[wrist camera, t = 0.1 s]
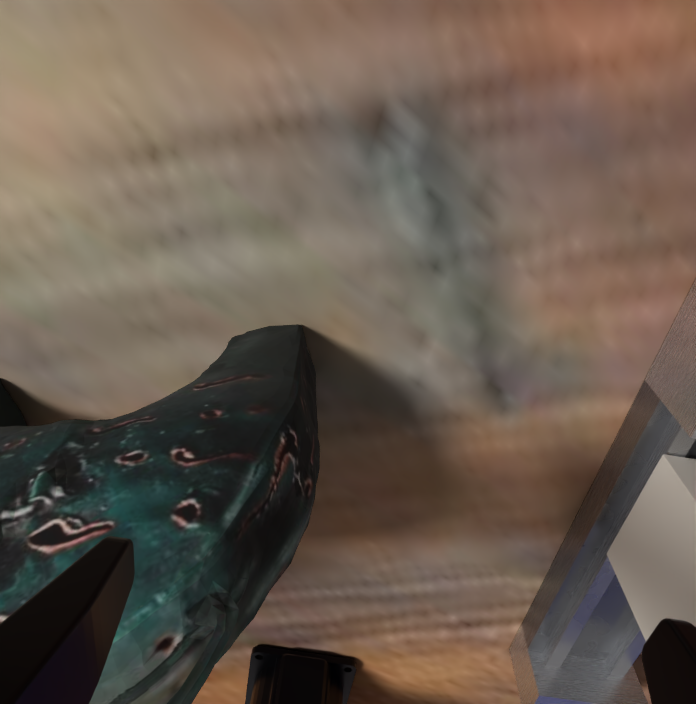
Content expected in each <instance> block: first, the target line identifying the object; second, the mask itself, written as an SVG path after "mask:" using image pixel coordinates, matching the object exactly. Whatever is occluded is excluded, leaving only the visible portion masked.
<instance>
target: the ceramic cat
mask: <svg viewBox="0 0 696 704" xmlns="http://www.w3.org/2000/svg"><path fill="white" fill-rule="evenodd" d="M319 458H320V446H319V441H318V423H317V408H316V373H315V369H314V366H313V363H312V360H311V357H310V354H309V352H308V349H307V346H306V341H305V337H304V332H303V328H302V326H301V325H283V326H268V327H264V328H260V329H256V330H253V331H249V332H246V333H245V334H243V335H238V336H235V337H233V338H232V339H231V340H230V341H229V343H228V345H227V348H226V349H225V351H224V352H223V353H222V355H221V356H220V357H219V358H218V359H217V360H216V361H215V362H214V363H212V364H211V365H210V367H209V368H208V369H207V370H206V371H204V372H203V373H202V375H201V376H200V377H199V378H197V379H196V380H195V381H194V382H192V383H190V384H188V385H186V386H185V387H183V388H181V389H179V390H178V391H176V392H174V393H172V394H170V395H169V396H167V397H165V398H163V399H161V400H159V401H157V402H155V403H153V404H150V405H148V406H146V407H144V408H142V409H139V410H137V411H135V412H132V413H129V414H126V415H123V416H120V417H117V418H114V419H108V420H98V421H89V420H76V419H75V420H62V421H58V422H54V423H51V424H46V425H41V426H27V425H26V423H25V420H24V418H23V416H22V413H21V411H20V410H19V408H18V407H17V405H16V404H15V403H14V401H13V400H12V398H11V397H10V396H9V394H8V393H7V391H6V390H5V389H4V387H3V386H2V384H1V379H0V623H1V622H3V621H4V620H5V619H6V618H7V617H9V616H10V615H11V614H12V613H14V612H15V611H16V610H17V609H18V608H20V607H21V606H22V605H23V604H24V603H26V602H27V601H28V600H29V599H31V598H32V597H33V596H34V595H35V594H37V593H38V592H39V591H40V590H41V589H43V588H44V587H45V586H46V585H48V584H49V583H50V582H51V581H52V580H54V579H55V578H56V577H57V576H59V575H60V574H61V573H62V572H63V571H65V570H66V569H67V568H68V567H69V566H71V565H72V564H73V563H74V562H76V561H77V560H78V559H79V558H80V557H82V556H83V555H84V554H85V553H86V552H88V551H89V550H90V549H91V548H93V547H94V546H95V545H96V544H97V543H99V542H100V541H101V540H102V539H104V538H106V537H108V536H114V537H121V538H128V539H131V540H132V542H133V546H134V566H135V575H134V581H133V585H132V588H131V591H130V594H129V597H128V600H127V602H126V605H125V608H124V611H123V614H122V617H121V620H120V623H119V626H118V629H117V631H116V634H115V637H114V640H113V643H112V646H111V649H110V652H109V655H108V657H107V660H106V663H105V666H104V669H103V672H102V674H101V677H100V680H99V682H98V685H97V687H96V689H95V692H94V694H93V696H92V698H91V701H90V703H89V704H191V703H192V702H193V700H194V699H195V697H196V695H197V694H198V692H199V691H200V689H201V687H202V686H203V684H204V683H205V681H206V680H207V678H208V676H209V674H210V673H211V671H212V669H213V667H214V665H215V664H216V663H217V662H218V661H219V659H220V658H221V657H222V656H223V655H224V654H225V653H226V652H227V651H228V649H229V648H230V647H231V646H232V644H233V643H234V642H235V640H236V639H237V637H238V636H239V635H240V633H241V632H242V631H243V630H244V629H245V628H246V627H247V625H248V624H249V623H250V622H251V621H252V620H253V619H254V617H255V615H256V614H257V612H258V610H259V608H260V607H261V605H262V603H263V601H264V600H265V598H266V596H267V594H268V593H269V591H270V590H271V588H272V587H273V586H274V584H275V583H276V582H277V580H278V579H279V578H280V577H281V575H282V574H283V573H284V571H285V570H286V569H287V567H288V566H289V565H290V563H291V561H292V559H293V556H294V554H295V552H296V549H297V547H298V545H299V542H300V540H301V538H302V536H303V534H304V532H305V530H306V528H307V526H308V523H309V519H310V515H311V511H312V507H313V503H314V499H315V490H316V483H317V478H318V473H319Z"/></svg>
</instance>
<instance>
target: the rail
mask: <svg viewBox="0 0 696 704" xmlns="http://www.w3.org/2000/svg"><path fill="white" fill-rule="evenodd" d="M663 454H665V455H672V456H678V457H684V458H690V459H696V279H695V281H694V283H693V285H692V287H691V289H690V291H689V293H688V295H687V297H686V299H685V301H684V303H683V305H682V307H681V309H680V311H679V313H678V315H677V317H676V319H675V321H674V323H673V325H672V327H671V329H670V331H669V333H668V335H667V337H666V339H665V341H664V343H663V345H662V347H661V349H660V351H659V353H658V355H657V357H656V359H655V361H654V363H653V365H652V367H651V369H650V371H649V373H648V375H647V377H646V379H645V381H644V383H643V385H642V387H641V389H640V390H639V392H638V394H637V396H636V398H635V400H634V402H633V404H632V406H631V408H630V410H629V412H628V414H627V416H626V418H625V420H624V422H623V424H622V426H621V428H620V430H619V432H618V434H617V436H616V438H615V440H614V442H613V444H612V446H611V448H610V450H609V452H608V454H607V456H606V458H605V460H604V462H603V464H602V466H601V468H600V470H599V472H598V474H597V476H596V478H595V480H594V482H593V484H592V486H591V488H590V490H589V492H588V494H587V496H586V498H585V500H584V502H583V504H582V506H581V508H580V510H579V512H578V514H577V516H576V518H575V520H574V522H573V524H572V526H571V527H570V529H569V531H568V533H567V535H566V537H565V539H564V541H563V543H562V545H561V547H560V549H559V551H558V553H557V555H556V557H555V559H554V561H553V563H552V565H551V567H550V569H549V571H548V573H547V575H546V577H545V579H544V581H543V583H542V585H541V587H540V589H539V591H538V593H537V595H536V597H535V599H534V601H533V603H532V605H531V607H530V609H529V611H528V613H527V615H526V617H525V619H524V621H523V623H522V625H521V627H520V629H519V631H518V633H517V635H516V637H515V639H514V641H513V643H512V645H511V647H510V649H509V651H510V655H511V660H512V665H513V669H514V674H515V678H516V683H517V688H518V692H519V697H520V702H521V704H648V702H647V699H646V697H645V695H644V692H643V690H642V687H641V685H640V682H639V680H638V677H637V675H636V673H635V670H634V668H633V665H632V664H633V663H634V662H635V660H636V659H637V657H638V656H639V654H640V653H641V652H642V649H643V646H644V644H645V642H646V641H645V639H644V637H643V634H642V632H641V630H640V628H639V625H638V623H637V621H636V619H635V616H634V614H633V612H632V610H631V607H630V605H629V603H628V601H627V598H626V596H625V594H624V592H623V590H622V587H621V585H620V583H619V581H618V578H617V576H616V574H615V572H614V569H613V567H612V565H611V563H610V560H609V558H608V556H607V552H608V550H609V549H610V547H611V545H612V543H613V541H614V540H615V538H616V536H617V534H618V533H619V531H620V529H621V527H622V526H623V524H624V522H625V520H626V519H627V517H628V515H629V513H630V512H631V510H632V508H633V506H634V504H635V503H636V501H637V499H638V497H639V496H640V494H641V492H642V490H643V489H644V487H645V485H646V483H647V482H648V480H649V478H650V476H651V475H652V473H653V471H654V469H655V467H656V466H657V464H658V462H659V460H660V459H661V457H662V455H663Z"/></svg>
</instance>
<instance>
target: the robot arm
mask: <svg viewBox="0 0 696 704" xmlns="http://www.w3.org/2000/svg"><path fill="white" fill-rule="evenodd" d="M134 575H135V566H134V546H133V542H132V540H131V539H128V538H121V537H114V536H108V537H106V538H104V539H102V540H101V541H100V542H99V543H97V544H96V545H95V546H94V547H93V548H91V549H90V550H89V551H88V552H86V553H85V554H84V555H83V556H82V557H80V558H79V559H78V560H77V561H76V562H74V563H73V564H72V565H71V566H69V567H68V568H67V569H66V570H65V571H63V572H62V573H61V574H60V575H59V576H57V577H56V578H55V579H54V580H52V581H51V582H50V583H49V584H48V585H46V586H45V587H44V588H43V589H41V590H40V591H39V592H38V593H37V594H35V595H34V596H33V597H32V598H31V599H29V600H28V601H27V602H26V603H24V604H23V605H22V606H21V607H20V608H18V609H17V610H16V611H15V612H14V613H12V614H11V615H10V616H9V617H7V618H6V619H5V620H4V621H3V622H1V623H0V704H89V703H90V701H91V698H92V696H93V694H94V692H95V689H96V687H97V685H98V682H99V680H100V677H101V674H102V672H103V669H104V666H105V663H106V660H107V657H108V655H109V652H110V649H111V646H112V643H113V640H114V637H115V634H116V631H117V629H118V626H119V623H120V620H121V617H122V614H123V611H124V608H125V605H126V602H127V600H128V597H129V594H130V591H131V588H132V585H133V581H134ZM642 662H643V666H644V671H645V675H646V680H647V684H648V689H649V693H650V698H651V702H652V704H696V627H695V626H694V625H693V624H691V623H690V622H687V621H684V620H677V619H670V618H665V619H663V620H661V621H660V622H659V624H658V625H657V626H656V628H655V629H654V631H653V632H652V634H651V635H650V636H649V638H648V639H647V641H646V642H645V644H644V646H643V649H642ZM355 673H356V662H355V661H354V660H352V659H348V658H341V657H334V656H327V655H320V654H313V653H306V652H299V651H292V650H285V649H278V648H271V647H264V646H256V647H254V648H253V649H252V654H251V660H250V669H249V677H248V685H247V693H246V701H245V704H347V701H348V697H349V694H350V690H351V687H352V683H353V680H354V676H355Z"/></svg>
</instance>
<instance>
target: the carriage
mask: <svg viewBox="0 0 696 704" xmlns="http://www.w3.org/2000/svg"><path fill="white" fill-rule="evenodd" d="M607 556H608V558H609V560H610V563H611V565H612V567H613V569H614V572H615V574H616V576H617V578H618V581H619V583H620V585H621V587H622V590H623V592H624V594H625V596H626V598H627V601H628V603H629V605H630V607H631V610H632V612H633V614H634V616H635V619H636V621H637V623H638V625H639V628H640V630H641V632H642V634H643V637H644V639H645V641H647V639H648V638H649V636H650V635H651V634H652V632H653V631H654V629H655V628H656V626H657V625H658V624H659V622H660V621H661V620H663V619H665V618H670V619H677V620H684V621H687V622H690V623H691V624H693V625H694V626H695V627H696V459H690V458H684V457H678V456H672V455H665V454H663V455H662V457H661V459H660V460H659V462H658V464H657V466H656V467H655V469H654V471H653V473H652V475H651V476H650V478H649V480H648V482H647V483H646V485H645V487H644V489H643V490H642V492H641V494H640V496H639V497H638V499H637V501H636V503H635V504H634V506H633V508H632V510H631V512H630V513H629V515H628V517H627V519H626V520H625V522H624V524H623V526H622V527H621V529H620V531H619V533H618V534H617V536H616V538H615V540H614V541H613V543H612V545H611V547H610V549H609V550H608V552H607Z"/></svg>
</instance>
